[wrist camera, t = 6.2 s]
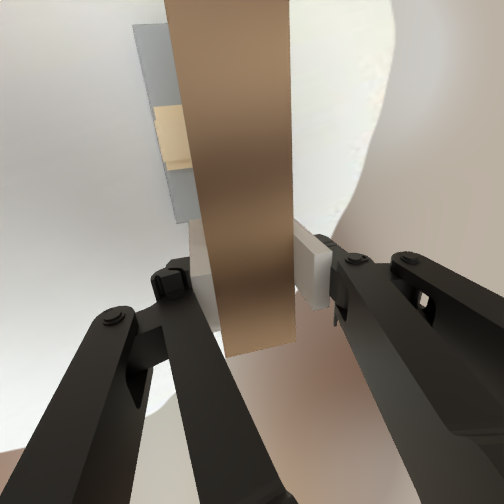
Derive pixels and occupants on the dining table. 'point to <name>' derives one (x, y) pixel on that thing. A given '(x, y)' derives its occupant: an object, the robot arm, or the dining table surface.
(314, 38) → the dining table surface
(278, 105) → the bar
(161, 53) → the fulcrum
